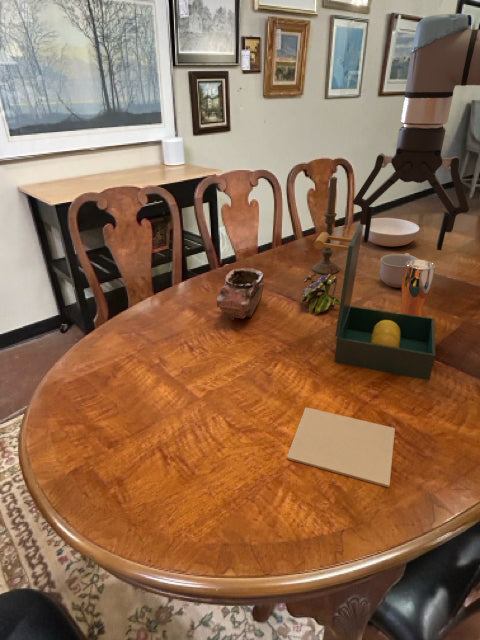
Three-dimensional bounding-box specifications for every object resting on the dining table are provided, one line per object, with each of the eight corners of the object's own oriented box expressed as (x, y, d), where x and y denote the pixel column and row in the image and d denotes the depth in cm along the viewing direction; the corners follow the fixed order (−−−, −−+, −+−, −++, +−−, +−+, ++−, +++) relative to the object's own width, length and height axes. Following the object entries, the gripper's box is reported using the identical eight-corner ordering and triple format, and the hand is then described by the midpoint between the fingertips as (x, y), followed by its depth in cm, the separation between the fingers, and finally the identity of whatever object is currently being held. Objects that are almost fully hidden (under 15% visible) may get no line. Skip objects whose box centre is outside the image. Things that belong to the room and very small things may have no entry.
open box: (428, 342, 98) (434, 318, 95) (428, 382, 85) (435, 355, 82) (345, 328, 105) (348, 305, 101) (334, 364, 91) (336, 338, 88)
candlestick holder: (321, 276, 133) (329, 179, 119) (306, 266, 141) (312, 174, 126) (345, 272, 136) (356, 176, 122) (329, 262, 144) (338, 171, 129)
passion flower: (307, 319, 120) (311, 278, 122) (345, 320, 115) (348, 278, 116) (293, 312, 110) (297, 268, 112) (333, 314, 105) (337, 267, 107)
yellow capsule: (372, 335, 100) (376, 313, 97) (398, 340, 98) (403, 317, 96) (366, 362, 91) (370, 339, 88) (395, 368, 89) (400, 344, 86)
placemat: (394, 430, 74) (395, 427, 73) (389, 487, 63) (389, 485, 63) (305, 409, 79) (305, 406, 79) (286, 459, 68) (286, 457, 68)
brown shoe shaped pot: (281, 300, 119) (282, 268, 114) (256, 334, 103) (256, 299, 98) (238, 293, 123) (237, 263, 119) (208, 325, 107) (206, 291, 103)
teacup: (403, 294, 121) (408, 268, 117) (370, 283, 128) (373, 258, 124) (426, 280, 129) (431, 256, 125) (394, 271, 136) (398, 247, 132)
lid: (363, 222, 91) (325, 218, 94) (353, 246, 78) (309, 240, 80) (350, 304, 101) (316, 298, 104) (339, 337, 88) (300, 329, 90)
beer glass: (405, 309, 113) (416, 257, 106) (429, 319, 108) (442, 265, 101) (389, 317, 109) (399, 263, 102) (413, 327, 104) (425, 272, 97)
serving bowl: (355, 248, 156) (357, 230, 152) (363, 232, 172) (365, 215, 169) (414, 255, 148) (418, 236, 145) (417, 237, 165) (420, 220, 162)
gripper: (501, 125, 71) (470, 244, 81) (352, 123, 79) (340, 232, 89) (508, 129, 65) (473, 258, 75) (346, 126, 73) (334, 243, 83)
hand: (401, 244), depth 82 cm, fingers open, 13 cm apart
